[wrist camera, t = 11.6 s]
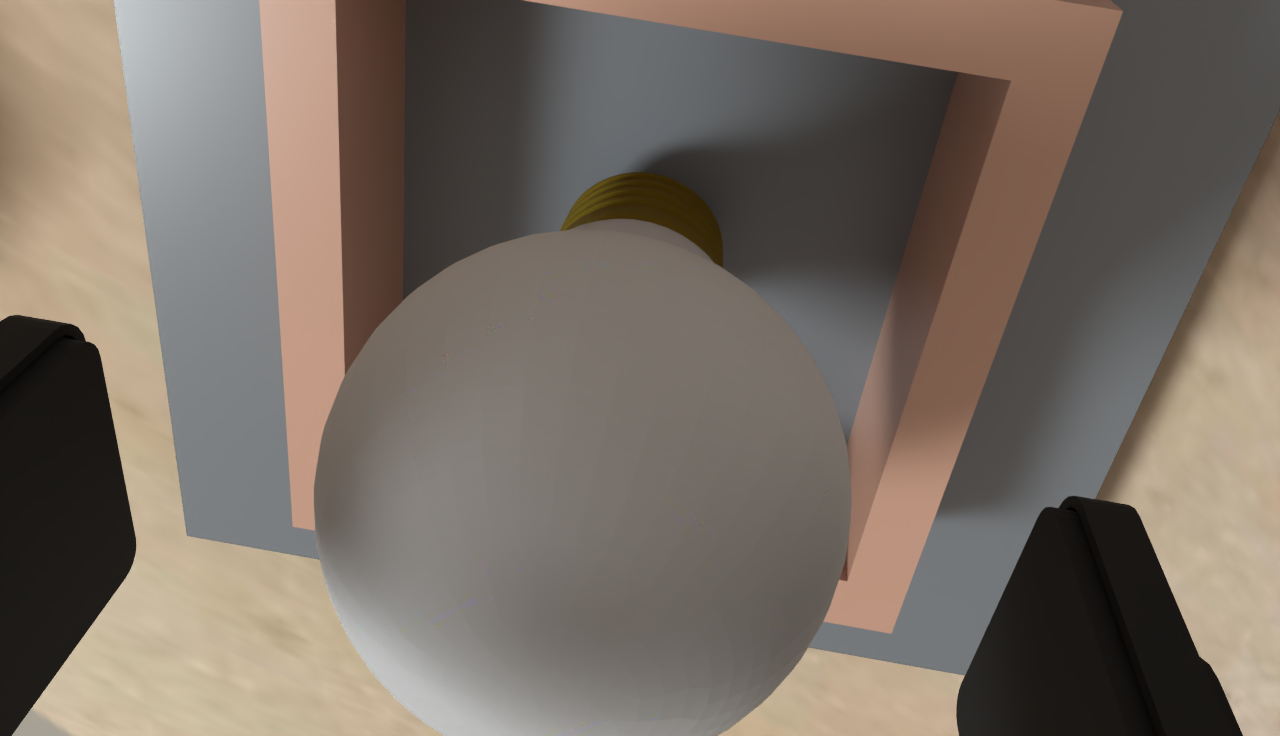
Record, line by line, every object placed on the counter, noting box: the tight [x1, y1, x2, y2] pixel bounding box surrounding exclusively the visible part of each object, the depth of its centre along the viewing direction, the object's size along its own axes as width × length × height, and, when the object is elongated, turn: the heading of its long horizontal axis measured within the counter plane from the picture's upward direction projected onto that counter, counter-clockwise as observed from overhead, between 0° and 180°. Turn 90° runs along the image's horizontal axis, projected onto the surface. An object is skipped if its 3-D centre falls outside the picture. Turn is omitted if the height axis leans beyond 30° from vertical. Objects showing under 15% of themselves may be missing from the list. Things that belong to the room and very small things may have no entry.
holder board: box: [114, 0, 1280, 675], centre depth 17 cm, size 18×18×4 cm
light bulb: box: [314, 172, 852, 736], centre depth 14 cm, size 6×6×10 cm
